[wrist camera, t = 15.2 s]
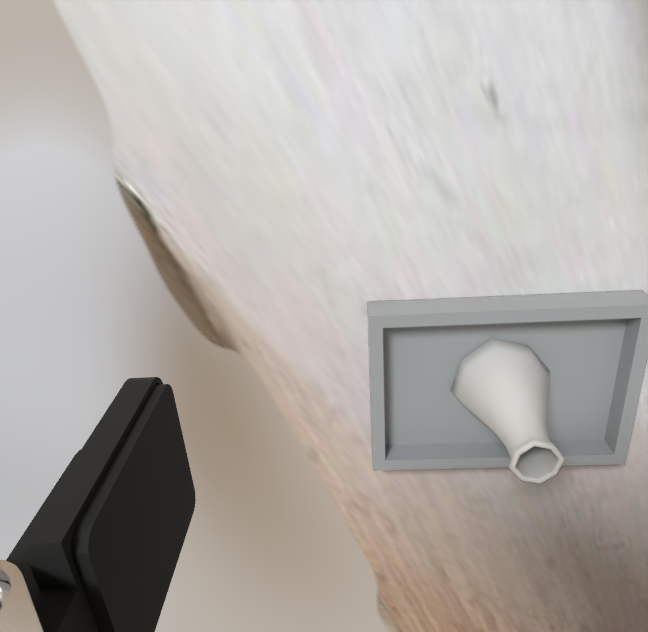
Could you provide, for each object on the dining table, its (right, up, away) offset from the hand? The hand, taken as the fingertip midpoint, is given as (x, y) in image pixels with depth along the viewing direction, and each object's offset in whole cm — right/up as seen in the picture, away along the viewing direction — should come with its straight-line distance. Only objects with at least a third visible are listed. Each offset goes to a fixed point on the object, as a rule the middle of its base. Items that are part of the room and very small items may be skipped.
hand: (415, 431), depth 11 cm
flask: (+12, -3, +34) cm, 36 cm away
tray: (+12, -3, +34) cm, 36 cm away
